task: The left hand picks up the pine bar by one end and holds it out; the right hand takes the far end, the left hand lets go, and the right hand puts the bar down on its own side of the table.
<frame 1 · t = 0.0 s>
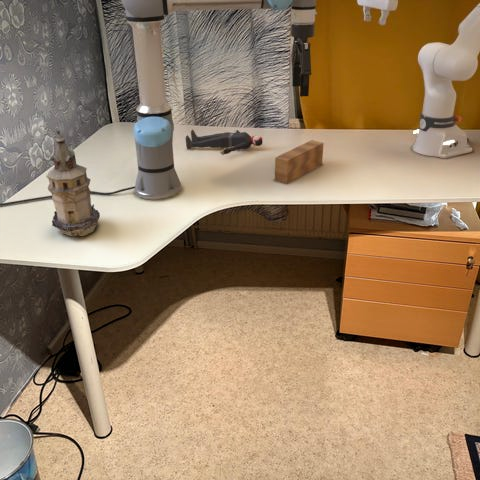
left hand: (300, 91, 180), 28 cm above the table, tool pointing down, fingers open, 13 cm apart
right hand: (374, 22, 177), 48 cm above the table, tool pointing down, fingers open, 8 cm apart
bar: (299, 172, 191), on the table
miniature building: (78, 229, 156), on the table
toy: (225, 147, 214), on the table
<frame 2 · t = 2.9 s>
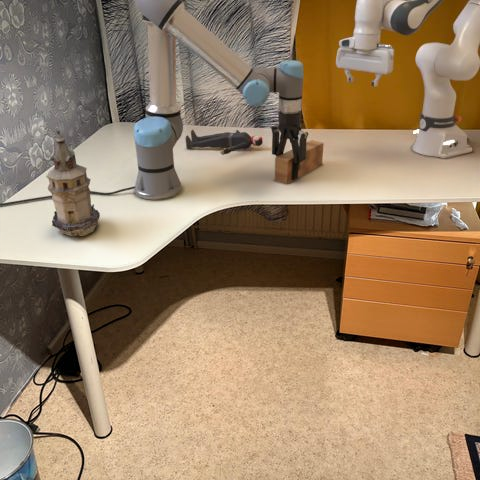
left hand: (287, 176, 186), 1 cm above the table, tool pointing down, fingers closed on bar, 5 cm apart
right hand: (362, 84, 186), 28 cm above the table, tool pointing down, fingers open, 8 cm apart
bar: (299, 172, 191), on the table, touching left hand
everything else where it was.
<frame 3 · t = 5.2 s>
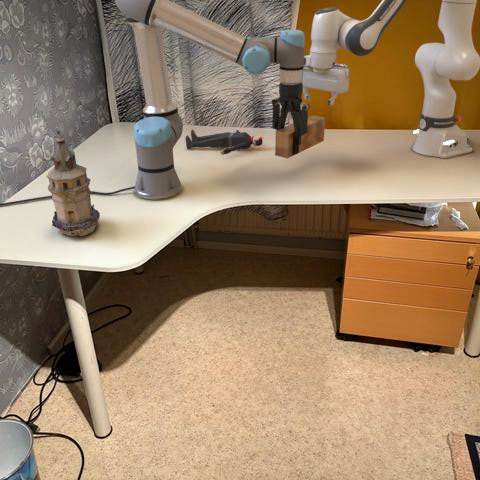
left hand: (288, 151, 181), 10 cm above the table, tool pointing down, fingers closed on bar, 5 cm apart
right hand: (318, 102, 185), 23 cm above the table, tool pointing down, fingers open, 8 cm apart
bar: (300, 147, 186), point 9 cm above the table, touching left hand
everything else where it was.
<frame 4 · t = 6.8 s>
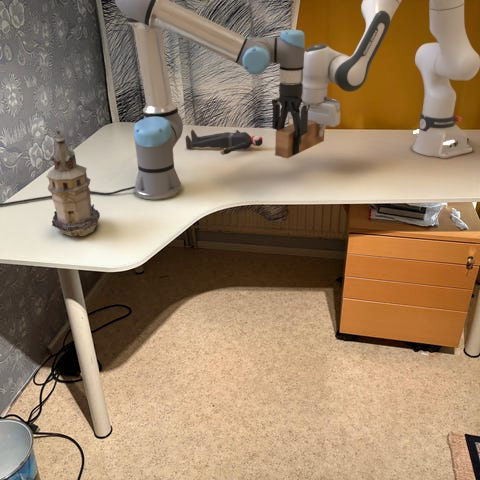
left hand: (288, 151, 181), 10 cm above the table, tool pointing down, fingers closed on bar, 5 cm apart
right hand: (311, 134, 189), 12 cm above the table, tool pointing down, fingers closed on bar, 5 cm apart
bar: (300, 147, 186), point 9 cm above the table, touching left hand, right hand
everything else where it was.
when the left hand's fingers open (10 cm above the table, at t = 7.8 s): bar stays where it is, held by the right hand.
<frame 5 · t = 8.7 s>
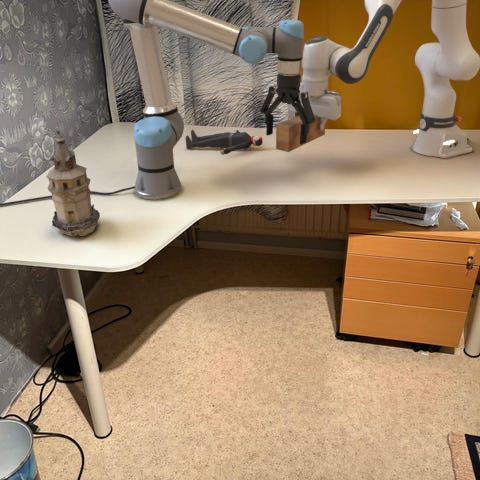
left hand: (285, 138, 178), 15 cm above the table, tool pointing down, fingers open, 13 cm apart
right hand: (312, 127, 188), 15 cm above the table, tool pointing down, fingers closed on bar, 5 cm apart
bar: (301, 141, 185), point 11 cm above the table, touching right hand
everything else where it was.
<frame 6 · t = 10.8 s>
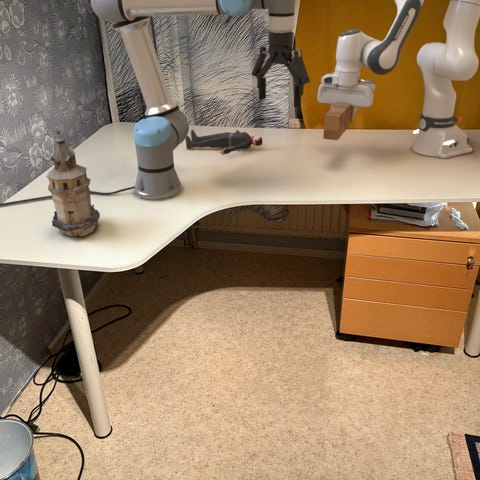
left hand: (279, 102, 169), 28 cm above the table, tool pointing down, fingers open, 13 cm apart
right hand: (343, 116, 198), 15 cm above the table, tool pointing down, fingers closed on bar, 5 cm apart
bar: (338, 130, 194), point 12 cm above the table, touching right hand
everything else where it was.
when the right hand's fingers open (5 cm above the table, at t = 12.2 s): bar drops 2 cm, on the table.
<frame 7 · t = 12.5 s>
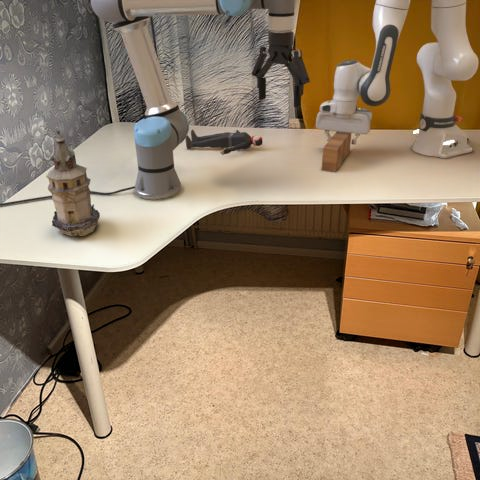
left hand: (279, 102, 169), 28 cm above the table, tool pointing down, fingers open, 13 cm apart
right hand: (341, 142, 203), 5 cm above the table, tool pointing down, fingers open, 8 cm apart
bar: (336, 160, 200), on the table
everything else where it was.
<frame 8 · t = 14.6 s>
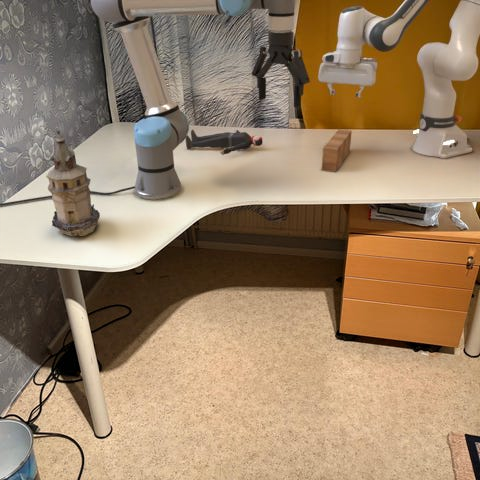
left hand: (279, 102, 169), 28 cm above the table, tool pointing down, fingers open, 13 cm apart
right hand: (345, 96, 195), 22 cm above the table, tool pointing down, fingers open, 8 cm apart
nothing on the table moved.
at the end: bar inside the target area (6.6 cm from its centre), on the table; the left hand is holding nothing; the right hand is holding nothing; bar at rest at the end (0.0 cm/s) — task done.
